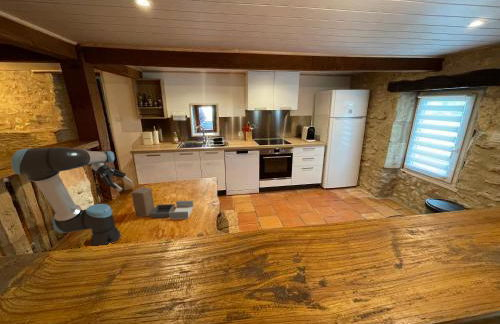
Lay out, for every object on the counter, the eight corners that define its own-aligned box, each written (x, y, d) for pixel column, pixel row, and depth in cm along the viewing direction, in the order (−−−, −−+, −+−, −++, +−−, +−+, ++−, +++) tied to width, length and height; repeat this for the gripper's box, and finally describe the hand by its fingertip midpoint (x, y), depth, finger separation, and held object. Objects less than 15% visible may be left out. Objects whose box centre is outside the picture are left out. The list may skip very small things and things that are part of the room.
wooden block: (147, 218, 149) (142, 193, 143) (135, 216, 151) (130, 192, 145) (155, 211, 159) (151, 187, 153) (144, 209, 160) (140, 186, 155)
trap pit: (151, 218, 149) (150, 213, 148) (157, 209, 162) (157, 204, 160) (169, 217, 149) (168, 213, 148) (175, 208, 162) (174, 204, 161)
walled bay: (170, 219, 147) (169, 212, 146) (177, 207, 165) (176, 200, 163) (188, 218, 148) (187, 212, 146) (193, 206, 165) (192, 200, 164)
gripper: (108, 165, 155) (131, 182, 160) (84, 177, 131) (113, 197, 137) (113, 158, 154) (137, 176, 159) (91, 169, 130) (119, 190, 135)
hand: (126, 186), depth 148 cm, fingers open, 13 cm apart
